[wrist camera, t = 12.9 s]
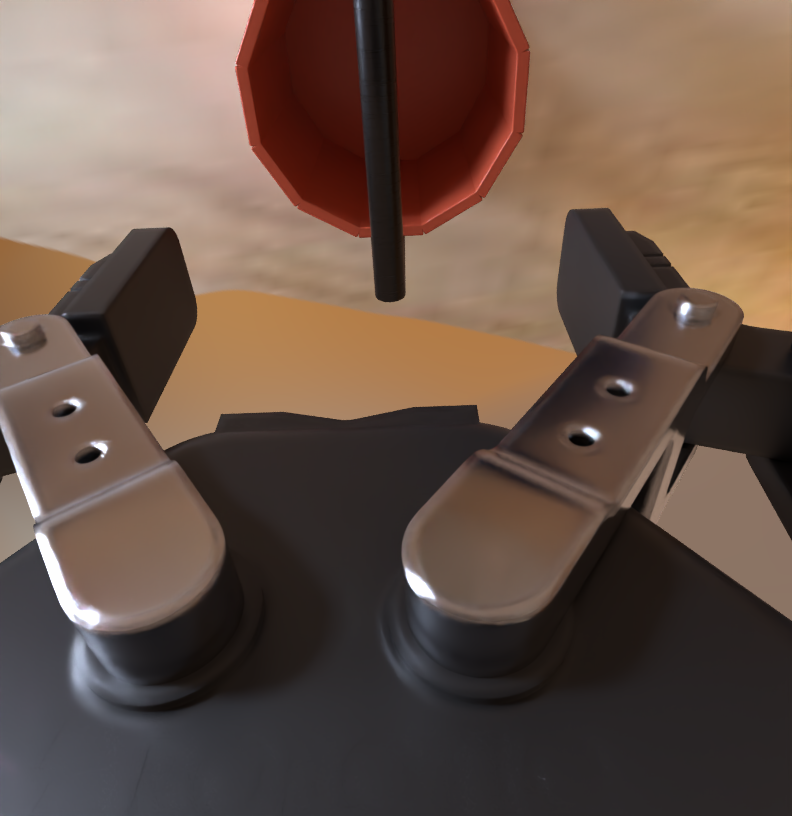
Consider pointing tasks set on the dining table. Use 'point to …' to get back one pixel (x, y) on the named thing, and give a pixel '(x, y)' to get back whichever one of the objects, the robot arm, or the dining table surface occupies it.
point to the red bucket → (384, 111)
